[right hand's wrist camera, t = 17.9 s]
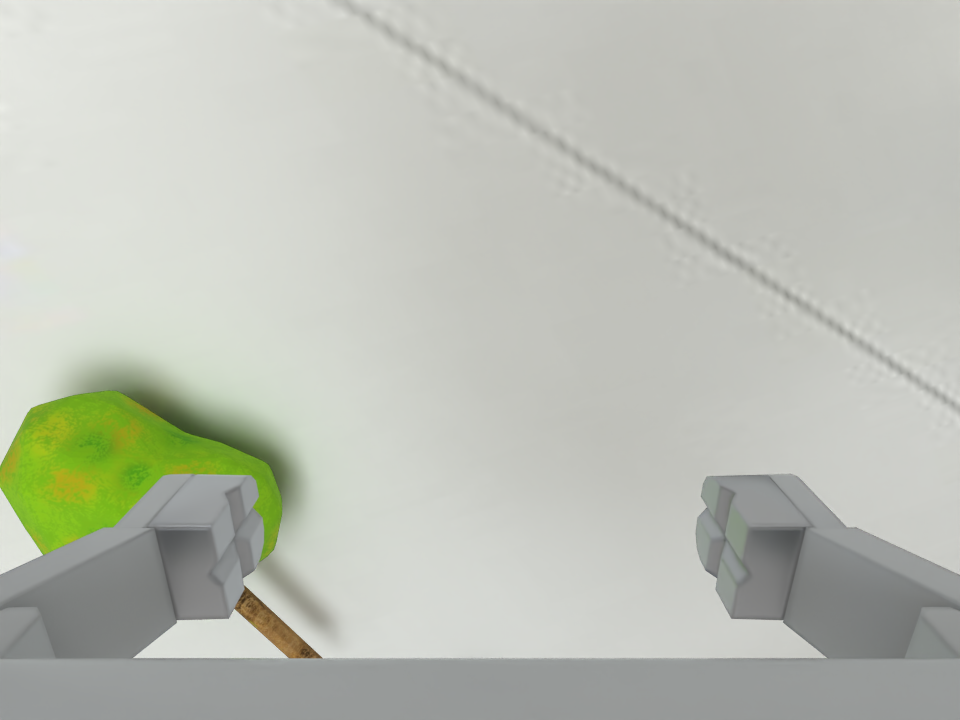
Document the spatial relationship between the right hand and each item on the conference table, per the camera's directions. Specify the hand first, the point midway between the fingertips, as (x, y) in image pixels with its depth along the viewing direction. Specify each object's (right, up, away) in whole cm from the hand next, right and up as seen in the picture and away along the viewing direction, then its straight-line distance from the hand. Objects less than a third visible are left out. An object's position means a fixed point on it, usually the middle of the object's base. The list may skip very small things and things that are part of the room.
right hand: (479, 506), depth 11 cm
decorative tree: (-22, -10, +38) cm, 45 cm away
